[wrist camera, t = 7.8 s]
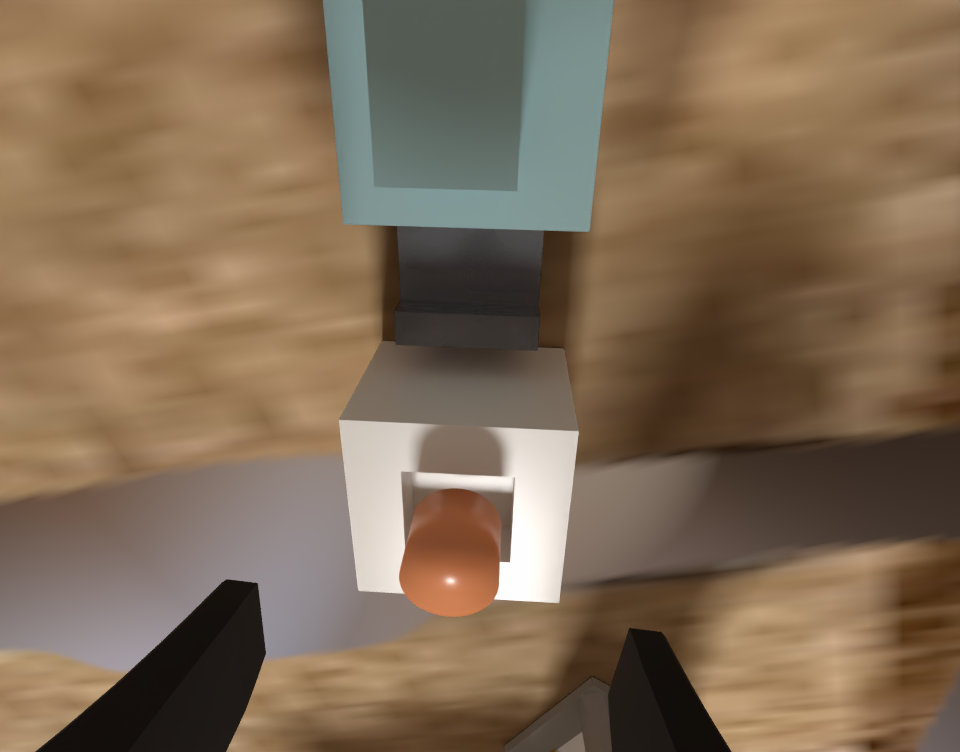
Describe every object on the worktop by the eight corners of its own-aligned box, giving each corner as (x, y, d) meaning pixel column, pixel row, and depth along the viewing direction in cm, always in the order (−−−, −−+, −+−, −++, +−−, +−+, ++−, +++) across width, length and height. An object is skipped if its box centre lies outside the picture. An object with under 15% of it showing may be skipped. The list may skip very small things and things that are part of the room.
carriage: (357, 213, 15) (282, 270, 10) (335, -68, 12) (217, -171, 7) (583, 219, 15) (615, 282, 10) (611, -66, 12) (675, -172, 7)
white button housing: (391, 486, 21) (358, 590, 17) (381, 340, 19) (338, 419, 14) (550, 494, 21) (558, 602, 17) (564, 348, 18) (578, 431, 14)
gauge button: (414, 554, 16) (401, 613, 14) (411, 486, 15) (396, 540, 13) (500, 559, 16) (497, 619, 14) (502, 490, 15) (501, 546, 13)
